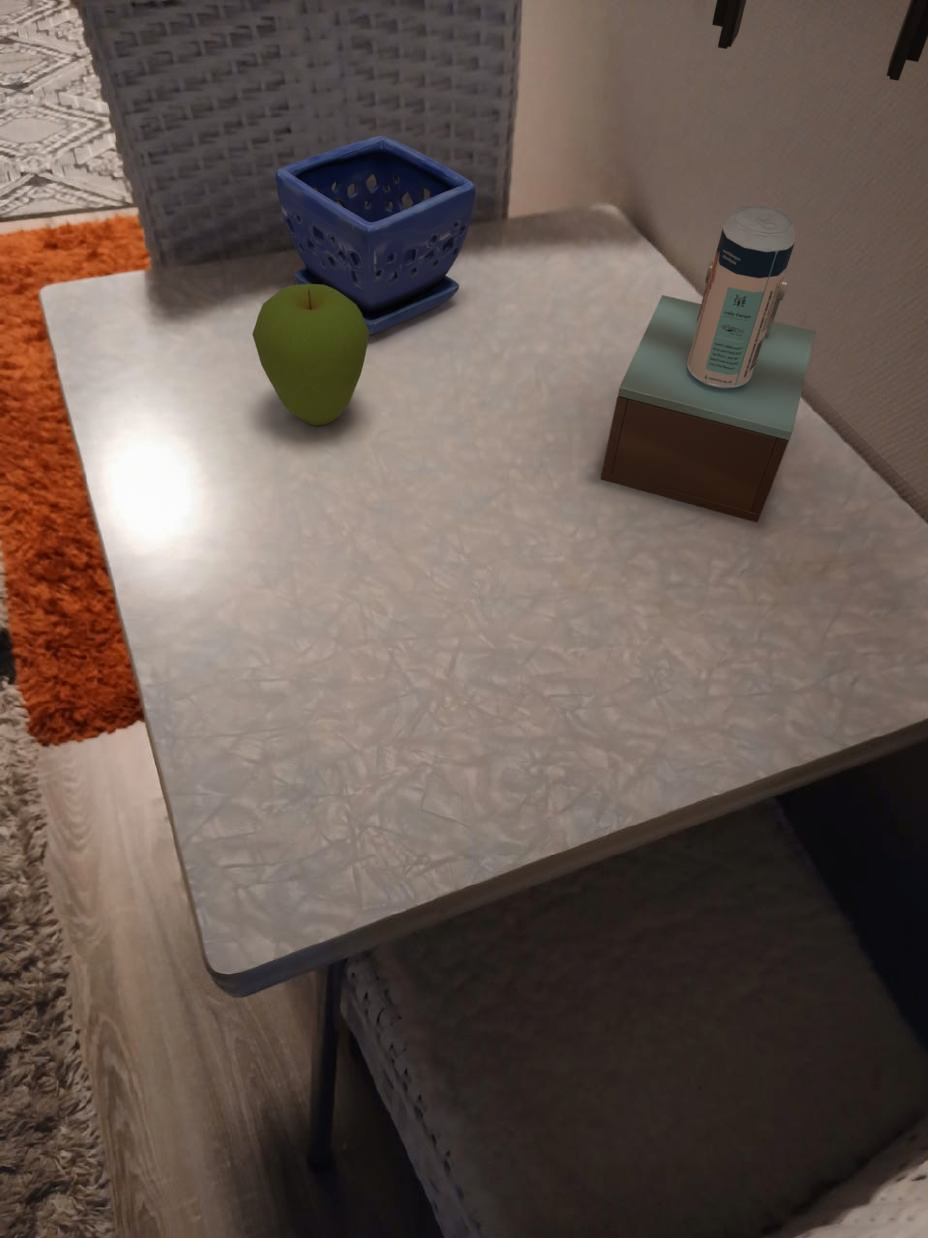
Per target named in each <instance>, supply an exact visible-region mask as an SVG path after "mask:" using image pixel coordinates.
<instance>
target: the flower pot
mask: <svg viewBox="0 0 928 1238" xmlns="http://www.w3.org/2000/svg"><path fill="white" fill-rule="evenodd" d="M372 176H373V177H374V179H375V185H374V186H372V187H371V188H370V189H369V186H368V185H367V181H368V180H369V179H370V178H371V177H372ZM334 184H335V186H334V188H333V185H334ZM275 185H276V192H277V193H276V194H277V197H278V203H279V207H280V211H281V214H282V219H283V221H284V225H285V227H286V230H287V233H288V235H289V238H290V240H291V243H292V245H293V247H294V249H295V250H296V252H297V255H298V256H299V258H300V259H301V261H302V262H303V264H304V265H305V266H304V267H303V268H300V269H298V270H296V271H295V272H294V273H293V276H294V279H295V281H296V283H297V284H298V285H301V284H320V285H326V286H328V287H331V288H333V289H335V290H337V291H339V292H340V293H341V294H343V295H344V296H346V297H347V298H348V299H350V300H351V301H352V302H353V303H355V304H356V305H357V307H358V308H359V310H360V312H361V313H362V316H363V318H364V320H365V323H366V325H367V328H368V330H369V333H370V334H369V335H375V334H379V333H380V332H383V331H385V330H388V329H389V328H392V327H394V326H396V325H399V324H402V323H403V322H406V321H409V320H410V319H412V318H414V317H417V316H419V315H421V314H423V313H425V312H428V311H430V310H432V309H434V308H436V307H439V306H441V305H443V304H444V303H446V302H447V301H449V300H450V299H451V298H452V297H453V296H455V294H457V292H459V289H460V284H459V282H458V283H457V281H455V280H454V279H453V278H451V277H449V276H448V275H447V274H448V273H449V271H450V270H451V269H452V267H453V265H454V264H455V262H456V260H457V258H458V256H459V254H460V252H461V250H462V247H463V245H464V242H465V240H466V237H467V235H468V231H469V229H470V224H471V221H472V215H473V212H474V206H475V200H476V191H477V188H476V185H475V183H474V182H472V181H471V180H470V179H467V178H466V177H465V176H463V175H462V174H459V173H458V172H456V171H455V170H452V169H451V168H449V167H448V166H445V165H444V164H442V163H440V162H438V161H436V160H435V159H433V158H431V157H429V156H427V155H425V154H423V153H422V152H420V151H417V150H415V149H414V148H411V147H410V146H408V145H406V144H404V143H402V142H400V141H398V140H395V139H392V138H390V137H388V136H385V135H377V136H372V137H370V138H365V139H362V140H359V141H356V142H353V143H348V144H346V145H343V146H340V147H336V148H334V149H331V150H329V151H325V152H322V153H319V154H317V155H314V156H311V157H307V158H305V159H302V160H300V161H299V160H298V161H296V162H294V163H291V164H288V165H285V166H283V167H280V168H278V169H277V170H276V172H275ZM352 185H353V188H354V189H353V190H354V191H353V192H352V193H349V192H348V190H349V187H350V186H352ZM425 190H427V191H428V192H429V198H428V199H426V200H425ZM407 193H408V195H409V198H410V200H411V201H412V204H411V206H410V207H407V208H406V207H405V204H404V202H403V198H404V196H405V195H406V194H407ZM337 202H338V203H337ZM365 204H366V206H365ZM391 204H392V208H391V207H390V205H391Z"/></svg>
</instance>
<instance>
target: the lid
mask: <svg viewBox="0 0 928 1238" xmlns="http://www.w3.org/2000/svg"><path fill="white" fill-rule="evenodd" d="M713 263H714V261H712V260H711V261H710V263H709V265H708V268H707V271H706V275H705V280H704V283H705V287H704V292H703V296H702V299H701V303H698V302H693V301H690V300H686V299H681V298H678V297H672V296H669V295H665V294H663V295H661V297H660V299H659V301H658V303H657V305H656V308H655V309H654V312H653V315H652V316H651V318H650V320H649V322H648V325H647V327H646V329H645V331H644V333H643V335H642V338H641V340H640V342H639V344H638V346H637V348H636V351H635V353H634V355H633V357H632V360H631V361H630V364H629V366H628V368H627V370H626V372H625V374H624V377H623V378H622V381H621V383H620V386H619V388H618V391H617V397H618V396H620V397H624V398H628V399H632V400H635V401H639V402H643V403H647V404H651V405H655V406H659V407H662V408H666V409H670V410H674V411H678V412H682V413H685V414H689V415H693V416H697V417H701V418H705V419H709V420H712V421H716V422H720V423H724V424H728V425H732V426H736V427H739V428H743V429H747V430H751V431H755V432H759V433H762V434H766V435H770V436H774V437H778V438H782V439H786V440H789V441H790V439H791V437H792V433H793V430H794V426H795V422H796V417H797V413H798V410H799V406H800V405H799V404H800V401H801V396H802V392H803V388H804V384H805V379H806V376H807V371H808V366H809V362H810V359H811V354H812V350H813V345H814V341H815V338H816V333H817V332H816V330H812V329H808V328H804V327H801V326H796V325H791V324H787V323H782V322H778V321H775V318H776V315H777V313H778V308H779V307H780V302H781V301H784V297H785V294H786V291H787V288H788V285H789V281H790V280H789V278H786V277H784V278H783V281H782V284H781V287H780V290H779V293H778V296H777V299H776V302H775V305H774V308H773V311H772V315H771V318H770V321H769V324H768V327H767V330H766V333H765V336H764V339H763V342H762V345H761V348H760V351H759V355H758V358H757V361H756V364H755V367H754V370H753V373H752V376H751V378H750V380H749V381H748V382H747V383H746V384H744V385H742V386H739V387H735V388H726V389H720V388H714V387H710V386H708V385H705V384H703V383H702V382H700V381H699V380H698V379H696V378H695V377H694V376H693V375H692V374H691V373H690V371H689V370H688V367H687V361H688V357H689V354H690V350H691V346H692V342H693V338H694V335H695V331H696V327H697V323H698V319H699V316H700V312H701V308H702V304H703V300H704V297H705V293H706V289H707V285H708V282H709V278H710V274H711V270H712V266H713Z"/></svg>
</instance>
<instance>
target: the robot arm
mask: <svg viewBox="0 0 928 1238" xmlns="http://www.w3.org/2000/svg"><path fill="white" fill-rule="evenodd" d="M746 4H747V0H716V4H715V9H714V14H713V17H712V18H713V19H712V26H715V27H716V26H717V27H721V29H720V35H719V39H718V43H717V48H718V49H724V50H727V49H728V48H731V47H732V46H733V44H734V42H735V40H736V38H737V37H738V35H739V32H740V28H741V25H742V20H743V15H744V12H745V9H746ZM927 40H928V0H910V2H909V5H908V8H907V11H906V13H905V16H904V19H903V22H902V24H901V27H900V30H899V32H898V36H897V39H896V42H895V44H894V47H893V49H892V53H891V56H890V59H889V63H888V67H887V72H886V77H889V78H888V79H889V80H892V81H897V82H899V80H900V78H901V75H902V72H903V70H904V67H905V64H906V61H909V62H916V63H918V62H919V61H920V58H921V56H922V54H923V50H924V48H925V46H926V42H927Z"/></svg>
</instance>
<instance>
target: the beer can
mask: <svg viewBox="0 0 928 1238" xmlns="http://www.w3.org/2000/svg"><path fill="white" fill-rule="evenodd" d="M795 233H796V232H795V227H794V222H793V220H792V217H791V216H790V214H787V213H786V212H784V211H782V210H780V209H778V208H776V207H772V206H768V205H761V204H749V205H741V206H739V207H738V208H737V209H736V210H735V211H733V212H732V215H731V216H730V217H729V218H728V219H727V220H726V221H725V222H724V224H723V226H722V228H721V232H720V237H719V240H718V244H717V248H716V251H715V252H716V253H715V256H714V259H713V262H714V263H713V266H712V270H711V274H710V278H709V282H708V285H707V289H706V293H705V297H704V300H703V304H702V308H701V312H700V316H699V319H698V323H697V327H696V331H695V335H694V338H693V342H692V346H691V350H690V354H689V357H688V361H687V367H688V370H689V371H690V373H691V374H692V375H693V376H694V377H695V378H696V379H698V380H699V381H700V382H702V383H703V384H705V385H708V386H710V387H714V388H720V389H726V388H735V387H739V386H742V385H744V384H746V383H747V382H748V381H749V380H750V378H751V376H752V373H753V370H754V367H755V364H756V361H757V358H758V355H759V351H760V348H761V345H762V342H763V339H764V336H765V333H766V330H767V327H768V324H769V321H770V318H771V315H772V311H773V308H774V305H775V302H776V299H777V296H778V293H779V290H780V287H781V284H782V281H783V278H785V275H786V271H787V268H788V265H789V262H790V259H791V256H792V252H793V250H794V247H795V243H796V239H797V237H796V234H795Z"/></svg>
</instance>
